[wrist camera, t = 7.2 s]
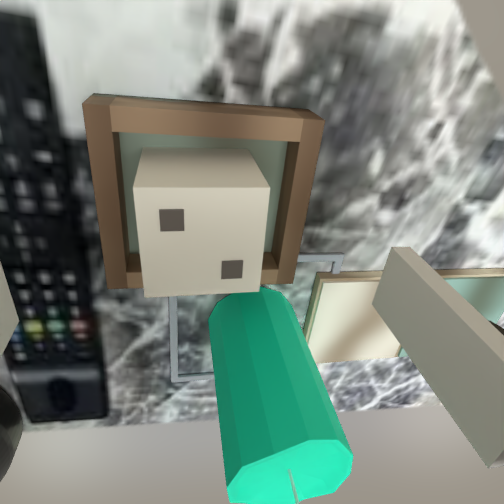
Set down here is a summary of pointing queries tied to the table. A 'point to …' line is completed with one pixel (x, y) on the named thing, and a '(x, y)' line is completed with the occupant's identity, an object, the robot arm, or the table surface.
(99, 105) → the tray
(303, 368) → the candle
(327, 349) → the beige green flat slab
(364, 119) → the table surface
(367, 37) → the table surface
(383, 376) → the table surface
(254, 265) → the die
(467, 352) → the robot arm
